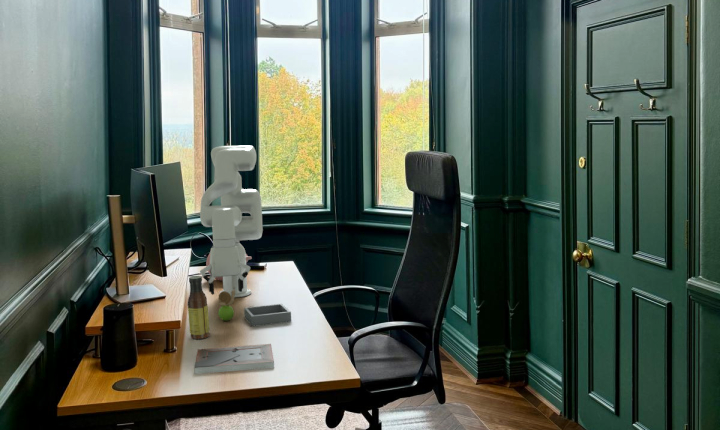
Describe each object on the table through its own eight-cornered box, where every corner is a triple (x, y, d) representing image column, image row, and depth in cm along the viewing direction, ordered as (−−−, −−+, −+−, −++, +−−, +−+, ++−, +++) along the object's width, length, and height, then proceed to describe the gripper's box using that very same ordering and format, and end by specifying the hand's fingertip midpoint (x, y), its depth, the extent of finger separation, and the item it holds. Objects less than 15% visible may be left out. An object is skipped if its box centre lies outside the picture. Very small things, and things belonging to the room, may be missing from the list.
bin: (244, 317, 246) (244, 307, 245) (282, 313, 251) (281, 303, 250) (252, 326, 234) (251, 316, 234) (291, 321, 239) (290, 311, 238)
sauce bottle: (203, 333, 228) (200, 273, 225) (213, 336, 223) (210, 276, 221) (185, 337, 223) (182, 277, 221) (195, 341, 219) (192, 279, 216)
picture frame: (194, 375, 190) (274, 369, 193) (194, 366, 189) (273, 360, 193) (198, 356, 206) (271, 350, 209) (197, 348, 205) (270, 342, 209)
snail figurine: (233, 322, 239) (232, 288, 238) (216, 322, 240) (214, 288, 239) (239, 318, 244) (237, 285, 243) (222, 318, 246) (220, 284, 244)
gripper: (246, 240, 245) (248, 288, 247) (197, 244, 239) (199, 292, 241) (251, 243, 238) (253, 292, 240) (200, 246, 232) (202, 297, 234)
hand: (226, 292), depth 240 cm, fingers open, 9 cm apart
